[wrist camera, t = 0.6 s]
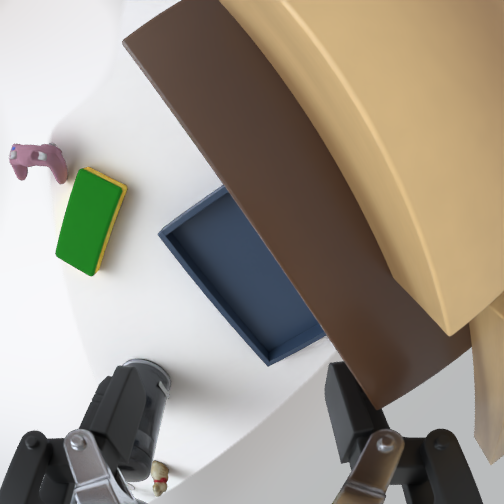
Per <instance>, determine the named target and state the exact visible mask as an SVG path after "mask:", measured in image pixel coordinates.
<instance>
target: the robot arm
mask: <svg viewBox="0 0 504 504" xmlns="http://www.w3.org/2000/svg"><path fill="white" fill-rule="evenodd" d="M170 386H171V381H170V378H169V376H168V374H167V373H166V372H165V371H164V370H163V369H162V368H161V367H160V366H158V365H157V364H155V363H153V362H150V361H147V360H143V359H133V360H129V361H127V362H126V363H124V365H123V366H118V367H117V368H116V370H115V372H114V374H113V376H112V377H111V376H107V377H106V378H105V379H104V380H103V381H102V382H101V383H100V384H99V386H98V388H97V391H96V392H95V393H96V394H95V395H94V397H93V399H92V402H91V403H90V405H89V407H88V410H87V412H86V414H85V416H84V418H83V421H82V423H81V425H80V427H79V429H77V430H73V431H71V432H70V433H68V435H67V436H66V437H65V438H56V439H47V438H46V437H45V435H44V434H43V433H41V432H39V431H30V432H27V433H26V434H25V435H24V436H23V437H22V439H21V441H20V443H19V445H18V447H17V450H16V452H15V454H14V457H13V459H12V461H11V463H10V466H9V468H8V471H7V473H6V476H5V478H4V481H3V484H2V487H1V489H0V504H147V503H146V502H143V501H141V500H139V499H136V498H134V496H133V494H132V493H131V491H130V489H129V487H128V485H127V483H126V482H139V481H143V480H145V479H147V478H148V477H149V475H150V472H151V467H152V462H153V458H154V453H155V448H156V443H157V439H158V434H159V430H160V425H161V421H162V416H163V412H164V408H165V404H166V400H167V398H168V399H169V396H170V394H169V393H168V392H169V389H170ZM325 401H326V405H327V408H328V412H329V416H330V420H331V424H332V428H333V432H334V436H335V440H336V444H337V448H338V452H339V456H340V460H341V463H347V462H349V463H350V467H351V470H352V471H351V473H350V475H349V477H348V479H347V480H346V482H345V483H344V485H343V487H342V488H341V490H340V492H339V493H338V495H337V496H336V498H335V500H334V501H333V503H332V504H383V503H384V500H385V498H386V495H385V493H386V490H387V488H388V486H389V485H402V488H403V491H404V495H405V499H406V503H407V504H483V502H482V499H481V497H480V494H479V491H478V488H477V486H476V483H475V481H474V478H473V476H472V473H471V470H470V468H469V466H468V463H467V461H466V459H465V456H464V454H463V452H462V449H461V447H460V445H459V443H458V440H457V438H456V437H455V435H454V434H453V433H452V432H451V431H449V430H446V429H436V430H433V431H432V432H430V433H429V434H428V435H427V437H426V438H407V437H402V436H401V435H400V434H399V433H398V432H396V431H394V430H391V429H390V427H389V425H388V423H387V421H386V418H385V416H384V414H383V411H382V408H381V409H379V410H376V409H375V408H374V406H373V405H372V403H371V402H370V400H369V399H368V397H367V395H366V394H365V392H364V391H363V389H362V388H361V386H360V385H359V383H358V382H357V380H356V379H355V377H354V376H353V374H352V373H351V371H350V370H349V368H348V367H347V365H346V363H345V362H344V361H342V362H334V363H330V364H329V367H328V373H327V378H326V384H325ZM44 475H45V476H44ZM43 478H44V479H43ZM42 481H43V482H42ZM41 484H42V485H41ZM40 487H41V488H40ZM39 490H40V491H39Z"/></svg>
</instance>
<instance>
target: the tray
mask: <svg viewBox="0 0 504 504" xmlns="http://www.w3.org/2000/svg"><path fill="white" fill-rule="evenodd" d="M158 236H159V237H160V238H161V240H162V241H163V242H164V244H165V245H166V246H167V247H168V249H169V250H170V251H171V253H172V254H173V255H174V256H175V258H176V259H177V260H178V262H179V263H180V264H181V265H182V267H183V268H184V269H185V270H186V272H187V273H188V274H189V275H190V277H191V278H192V279H193V280H194V282H195V283H196V284H197V285H198V286H199V288H200V289H201V290H202V291H203V293H204V294H205V295H206V296H207V297H208V299H209V300H210V301H211V302H212V303H213V305H214V306H215V307H216V308H217V309H218V310H219V312H220V313H221V314H222V315H223V316H224V318H225V319H226V320H227V321H228V322H229V323H230V325H231V326H232V327H233V328H234V329H235V330H236V331H237V333H238V334H239V335H240V336H241V337H242V338H243V339H244V341H245V342H246V343H247V344H248V345H249V346H250V347H251V348H252V350H253V351H254V352H255V353H256V354H257V355H258V356H259V357H260V359H261V360H262V361H263V362H264V363H265V364H266V365H267V366H270V365H272V364H274V363H276V362H278V361H280V360H282V359H284V358H286V357H288V356H290V355H292V354H294V353H295V352H297V351H299V350H301V349H303V348H305V347H306V346H308V345H310V344H312V343H314V342H315V341H317V340H319V339H321V338H323V337H324V336H326V333H325V332H324V330H323V329H322V327H321V326H320V324H319V323H318V321H317V320H316V318H315V317H314V316H313V314H312V313H311V311H310V310H309V308H308V307H307V305H306V304H305V302H304V301H303V299H302V298H301V296H300V295H299V293H298V292H297V290H296V289H295V287H294V286H293V284H292V283H291V282H290V280H289V279H288V277H287V276H286V274H285V273H284V271H283V270H282V268H281V267H280V265H279V264H278V262H277V261H276V260H275V258H274V257H273V255H272V254H271V252H270V251H269V249H268V248H267V246H266V245H265V244H264V242H263V241H262V239H261V238H260V236H259V235H258V233H257V232H256V231H255V229H254V228H253V226H252V225H251V223H250V222H249V220H248V219H247V218H246V216H245V215H244V213H243V212H242V210H241V209H240V207H239V206H238V205H237V203H236V202H235V200H234V199H233V197H232V196H231V195H230V193H229V192H228V190H227V189H226V187H225V186H224V185H222V186H221V187H219V188H218V189H217V190H215V191H214V192H212V193H211V194H209V195H208V196H206V197H205V198H204V199H202V200H201V201H199V202H198V203H197V204H195V205H194V206H192V207H191V208H189V209H188V210H187V211H185V212H184V213H183V214H181V215H180V216H178V217H177V218H176V219H174V220H173V221H172V222H170V223H169V224H168V225H166V226H165V227H163V229H162V230H161V231H160V232H159V233H158Z"/></svg>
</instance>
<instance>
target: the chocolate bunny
mask: <svg viewBox="0 0 504 504" xmlns="http://www.w3.org/2000/svg"><path fill="white" fill-rule="evenodd" d="M168 472H169V469H168V468H167V467H166V466H165V465H164V464H163V463H160V462H158V461H155V460H154V461H153V462H152V467H151V476H152V478H153V479H154V485H153V491H154V494H155V496H156V497H158V496H161V494H162V493H163V492H165V491H166V490H167V484H166V482H167V481H168Z"/></svg>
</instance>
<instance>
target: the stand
mask: <svg viewBox="0 0 504 504" xmlns="http://www.w3.org/2000/svg"><path fill="white" fill-rule="evenodd" d="M122 44H123V46H124V47H125V49H126V50H127V51H128V53H129V54H130V55H131V57H132V58H133V59H134V61H135V62H136V63H137V65H138V66H139V68H140V69H141V70H142V72H143V73H144V74H145V76H146V77H147V78H148V80H149V81H150V83H151V84H152V85H153V87H154V88H155V89H156V91H157V92H158V94H159V95H160V96H161V98H162V99H163V100H164V102H165V103H166V105H167V106H168V107H169V109H170V110H171V112H172V113H173V114H174V116H175V117H176V118H177V120H178V121H179V123H180V124H181V125H182V127H183V128H184V130H185V131H186V132H187V134H188V135H189V137H190V138H191V139H192V141H193V142H194V144H195V145H196V146H197V148H198V149H199V151H200V152H201V153H202V155H203V156H204V158H205V159H206V161H207V162H208V163H209V165H210V166H211V168H212V169H213V170H214V172H215V173H216V175H217V176H218V178H219V179H220V180H221V182H222V183H223V185H224V186H225V187H226V189H227V190H228V192H229V193H230V195H231V196H232V197H233V199H234V200H235V202H236V203H237V205H238V206H239V207H240V209H241V210H242V212H243V213H244V215H245V216H246V218H247V219H248V220H249V222H250V223H251V225H252V226H253V228H254V229H255V231H256V232H257V233H258V235H259V236H260V238H261V239H262V241H263V242H264V244H265V245H266V246H267V248H268V249H269V251H270V252H271V254H272V255H273V257H274V258H275V260H276V261H277V262H278V264H279V265H280V267H281V268H282V270H283V271H284V273H285V274H286V276H287V277H288V279H289V280H290V282H291V283H292V284H293V286H294V287H295V289H296V290H297V292H298V293H299V295H300V296H301V298H302V299H303V301H304V302H305V304H306V305H307V307H308V308H309V310H310V311H311V313H312V314H313V316H314V317H315V318H316V320H317V321H318V323H319V324H320V326H321V327H322V329H323V330H324V332H325V333H326V335H327V336H328V338H329V339H330V341H331V342H332V344H333V345H334V347H335V348H336V350H337V351H338V353H339V354H340V356H341V357H342V359H343V360H344V362H345V363H346V365H347V367H348V368H349V370H350V371H351V373H352V374H353V376H354V377H355V379H356V380H357V382H358V383H359V385H360V386H361V388H362V389H363V391H364V392H365V394H366V395H367V397H368V399H369V400H370V402H371V403H372V405H373V406H374V408H375V409H376V410H379V409H381V408H383V407H384V406H386V405H388V404H390V403H392V402H393V401H395V400H397V399H398V398H400V397H402V396H403V395H405V394H406V393H408V392H410V391H411V390H413V389H414V388H416V387H417V386H419V385H420V384H422V383H423V382H425V381H426V380H428V379H429V378H431V377H432V376H434V375H435V374H437V373H438V372H439V371H441V370H442V369H444V368H445V367H446V366H447V365H449V364H450V363H452V362H453V361H454V360H456V359H457V358H458V357H460V356H461V355H462V354H463V353H464V352H466V351H467V350H468V349H470V348H471V347H472V343H471V335H470V327H469V322H468V323H467V324H466V325H465V326H464V327H462V328H461V329H460V330H459V331H457V332H456V333H455V334H453V335H452V336H448V335H447V334H446V333H445V332H444V331H443V330H442V329H441V328H440V326H439V325H438V324H437V323H436V322H435V321H434V320H433V319H432V318H431V317H430V316H429V315H428V313H427V312H426V311H425V310H424V309H423V308H422V307H421V306H420V305H419V304H418V303H417V302H416V301H415V300H414V299H413V298H412V297H411V296H410V295H409V294H408V293H407V292H406V290H405V289H404V288H403V287H402V286H401V285H400V284H399V283H398V282H397V281H396V280H395V279H394V278H393V276H392V274H391V271H390V269H389V267H388V264H387V262H386V260H385V258H384V255H383V253H382V251H381V249H380V247H379V245H378V242H377V240H376V238H375V236H374V234H373V232H372V230H371V228H370V226H369V224H368V222H367V220H366V218H365V216H364V214H363V212H362V210H361V208H360V206H359V204H358V202H357V200H356V198H355V196H354V194H353V192H352V191H351V189H350V187H349V185H348V183H347V181H346V180H345V178H344V176H343V174H342V172H341V171H340V169H339V167H338V165H337V164H336V162H335V160H334V158H333V157H332V155H331V153H330V152H329V150H328V148H327V147H326V145H325V143H324V142H323V140H322V138H321V137H320V135H319V133H318V132H317V130H316V129H315V127H314V126H313V124H312V122H311V121H310V119H309V118H308V116H307V115H306V113H305V112H304V110H303V109H302V107H301V106H300V104H299V103H298V101H297V100H296V98H295V97H294V95H293V94H292V92H291V91H290V89H289V88H288V87H287V85H286V84H285V82H284V81H283V80H282V78H281V77H280V75H279V74H278V73H277V71H276V70H275V69H274V67H273V66H272V64H271V63H270V62H269V60H268V59H267V58H266V57H265V55H264V54H263V53H262V51H261V50H260V49H259V47H258V46H257V45H256V44H255V42H254V41H253V40H252V39H251V37H250V36H249V35H248V34H247V33H246V31H245V30H244V29H243V28H242V27H241V25H240V24H239V23H238V22H237V21H236V19H235V18H234V17H233V16H232V15H231V14H230V13H229V11H228V10H227V9H226V8H225V7H224V6H223V5H222V4H221V2H220V1H219V0H181V1H180V2H178V3H176V4H175V5H173V6H171V7H170V8H168V9H167V10H165V11H163V12H162V13H160V14H159V15H157V16H156V17H154V18H153V19H151V20H150V21H148V22H147V23H146V24H144V25H143V26H141V27H140V28H138V29H137V30H136V31H134V32H133V33H132V34H130V35H129V36H128V37H126V38H125V39H124V40H123V41H122Z"/></svg>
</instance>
